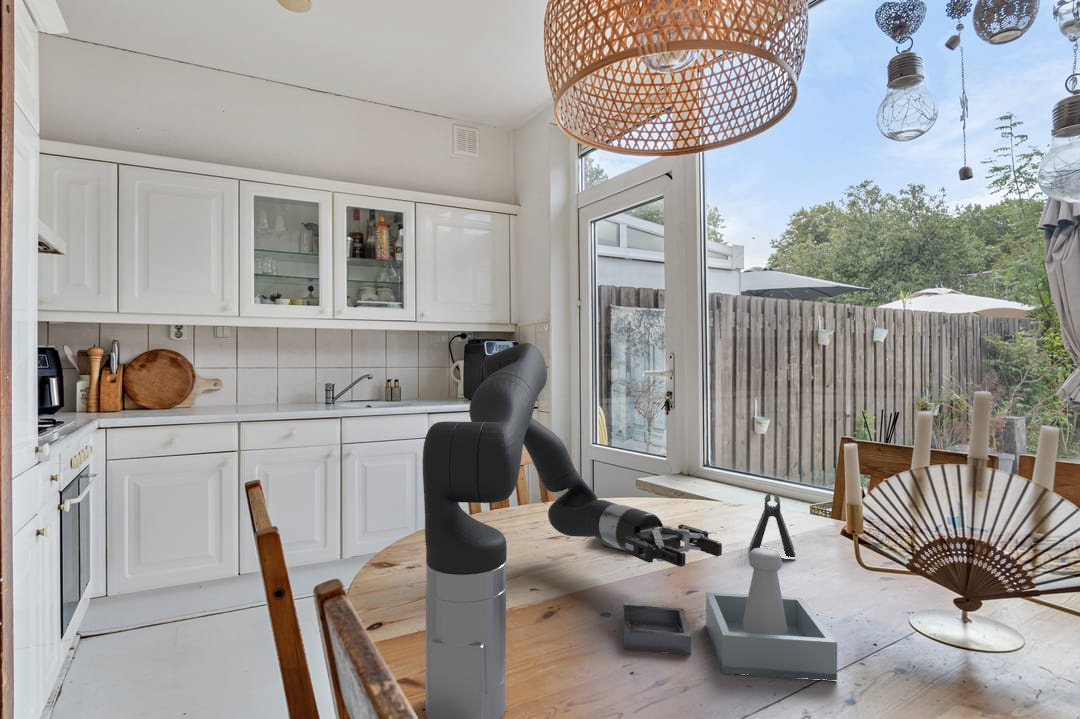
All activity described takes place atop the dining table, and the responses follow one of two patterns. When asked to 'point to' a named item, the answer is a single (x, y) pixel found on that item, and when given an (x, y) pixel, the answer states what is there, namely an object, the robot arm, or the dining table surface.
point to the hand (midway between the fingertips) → (702, 554)
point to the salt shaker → (765, 595)
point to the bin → (770, 641)
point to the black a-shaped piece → (783, 530)
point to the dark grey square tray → (654, 639)
